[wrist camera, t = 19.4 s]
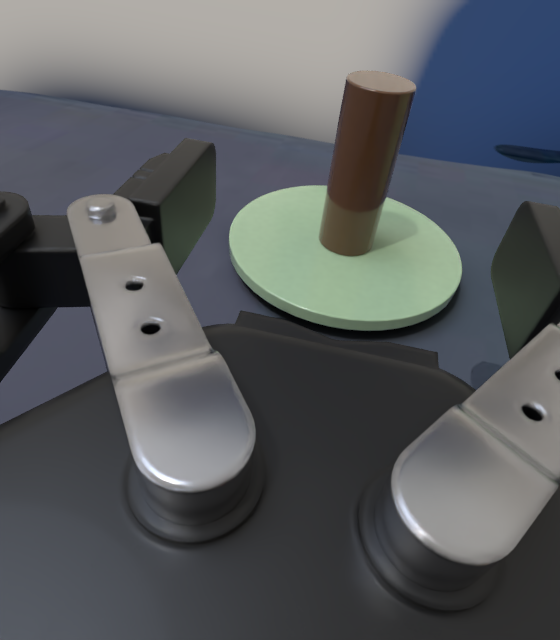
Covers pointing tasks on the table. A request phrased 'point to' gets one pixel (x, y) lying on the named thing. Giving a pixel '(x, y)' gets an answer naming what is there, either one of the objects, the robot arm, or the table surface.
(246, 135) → the table surface
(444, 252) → the lid
